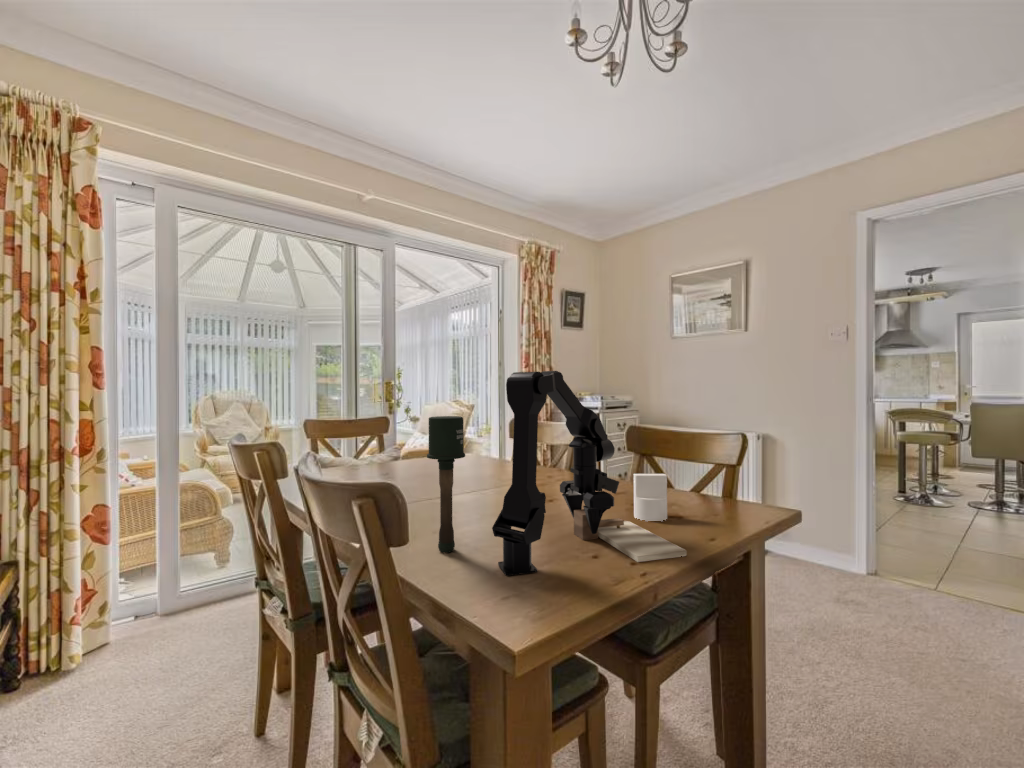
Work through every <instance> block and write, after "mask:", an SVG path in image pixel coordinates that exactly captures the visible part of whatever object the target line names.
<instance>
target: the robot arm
mask: <svg viewBox="0 0 1024 768" xmlns="http://www.w3.org/2000/svg"><path fill="white" fill-rule="evenodd" d="M505 387H506V389H505V390H506V400H507V403H508V405H509V408H510V409H511V411H512V413H513V434H512V435H513V437H512V438H513V441H512V468H511V469H512V470H511V473H512V474H511V475H512V477H511V485H510V486H509V488H508V490H507V492H506V493H505V494H504V497H503V502H502V509H501V510H500V512H499V514H498V516H497V518H496V520H495V521H494V523H493V525H492V527H491V529H492V533H493V537H496V538H497V537H498V538H502V561H498V563H497V565H498V567H499V568H500V569H501V571H502V572H503V574H504V575H505V576H509V577H510V576H517V575H523V574H524V575H525V574H526V575H527V574H532V573H538V568H537V567H536V566H535V565H534V564H533V563H532V543H534V542H536V541H540V540H541V538H542V533H543V527H544V522H545V516H546V515H545V514H546V513H547V511H546V500H547V496H546V493H545V492H542V491H541V492H540V489H539V487H538V486H537V470H538V469H537V466H538V465H537V464H538V462H537V460H538V457H537V456H538V430H539V429H538V428H539V427H538V426H539V423H538V422H539V414H540V413H541V411H542V410H543V407H544V406H545V405H546V402H547V398H548V397H549V399H550V400H551V401H552V402H553V404H555V406H556V407H557V408H558V410H559V411H560V413H562V415H563V416H564V418H565V426H566V428H567V430H568V432H569V433H570V435H571V436H572V437H574V438H573V439H572V441H570V442H569V444H568V447H569V448H572V452H573V453H572V454H573V455H572V457H573V458H572V459H573V461H572V463H573V466H572V467H570V473H572V475H573V479H571V480H563V481H562V482H561V483H560V484H559V493H562V494H561V495H562V497H563V499H564V501H565V503H566V505H567V507H568V510H569V511H570V513H571V516H572V518H573V520H574V510H581V509H582V508H583V509H584V510H585V514H586V517H587V520H588V524H589V527H590V530H591V533H592V534H596V533H597V530H598V527H599V524H600V521H601V520H602V518H603V515H604V513H605V512H606V511H607V510H610V509H611V508H612V507H614V506H615V497H614V496H613V495H612V494H615V495H617V492H618V488H619V485H620V481H619V480H615V479H614V478H610V477H608V473H607V472H604V471H602V470H601V469H599V468H598V465H597V464H598V462H602V461H606V460H610V459H611V458H612V457H613V456H614V454H615V449H616V448H615V446H614V444H613V442H612V440H610V439H608V434H607V433H606V431H605V428H604V425H603V423H602V421H601V418H600V416H599V415H598V414H597V412H595V411H594V410H593V409H590V408H588V407H586V406H584V405H583V404H582V403H581V402H580V400H579V398H578V397H577V396H576V395H575V393H574V392H573V390H572V389H571V387H570V386H569V385H568V384H567V382H566V381H565V380H564V376H563V374H562V373H561V372H560V371H558V370H542V371H519V372H517V371H516V372H513V373H511V374H510V375H509V377H507V379H506V383H505ZM604 490H605V491H604ZM607 491H608V492H607ZM609 492H611V493H612V494H611V493H609ZM583 504H584V505H583ZM512 527H513V528H512ZM514 528H517V529H514ZM518 529H522V530H524V531H522V530H518Z"/></svg>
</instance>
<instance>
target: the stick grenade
mask: <svg viewBox="0 0 1024 768" xmlns="http://www.w3.org/2000/svg"><path fill="white" fill-rule="evenodd" d="M464 443H465V442H464V417H463V416H458V415H457V416H455V415H454V416H453V415H452V416H451V415H448V416H447V415H445V416H444V415H443V416H442V415H440V416H439V415H437V416H430V417H429V418H428V453H427V454H426V458H427V459H429V460H437V463H438V483H439V488H440V489H439V491H440V492H439V493H440V494H439V495H440V497H439V498H440V499H439V501H440V503H439V504H440V509H439V513H440V516H439V517H440V519H439V520H440V522H439V523H440V527H439V530H438V531H439V532H438V542H437V543H438V544H437V549H439V552H440V551H441V553H444V552H447V553H451V551H452V552H453V551H454V550H455V546H456V545H455V530H454V526H453V486H454V466H455V465H454V463H455V461H456V460H458V459H463V458H465V457H466V453H465V452H464V451H465V450H464V449H465V447H464V446H465V445H464Z"/></svg>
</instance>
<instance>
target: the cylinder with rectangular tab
mask: <svg viewBox="0 0 1024 768" xmlns="http://www.w3.org/2000/svg"><path fill="white" fill-rule="evenodd" d="M633 517H634V518H635V519H636V518H637V519H636V520H638V519H640V520H639V521H642V520H645V521H644V522H648V521H661V522H664V521H663V520H665V521H667V520H668V476H667V474H666V473H633ZM666 519H667V520H666Z"/></svg>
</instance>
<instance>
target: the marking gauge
mask: <svg viewBox="0 0 1024 768" xmlns="http://www.w3.org/2000/svg"><path fill="white" fill-rule="evenodd" d="M624 521H625V520H624V519H622V518H619V517H618V518H607V519H601V521H600V524H599V527H609V526H617V528H620V525H624ZM599 527H598V528H599ZM573 535H574V536H576V537H577V538H579V539H580V540H581V541H589V540H598V539H599V537H598V530H597V533H596V534H592V533H591V530H590V527H589V524H588V520H587V517H586V514H585V510H584V508H583V509H581V510H574V519H573Z"/></svg>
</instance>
